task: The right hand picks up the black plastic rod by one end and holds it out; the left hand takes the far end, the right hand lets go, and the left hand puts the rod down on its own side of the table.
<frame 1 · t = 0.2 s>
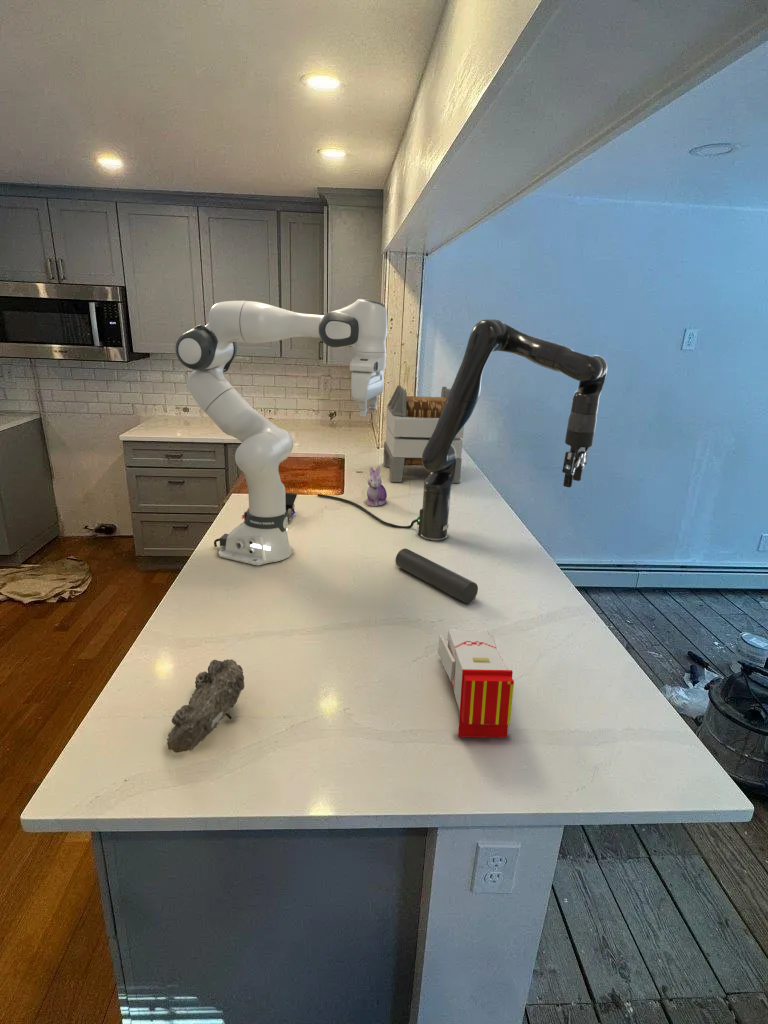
left hand: (367, 413, 158), 47 cm above the counter, tool pointing down, fingers open, 8 cm apart
right hand: (572, 483, 165), 29 cm above the counter, tool pointing down, fingers open, 8 cm apart
fossil: (212, 717, 108), on the counter
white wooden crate: (419, 473, 275), on the counter
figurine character: (286, 517, 210), on the counter
toy: (469, 691, 119), on the counter
figurine: (376, 503, 230), on the counter
rod: (433, 583, 165), on the counter
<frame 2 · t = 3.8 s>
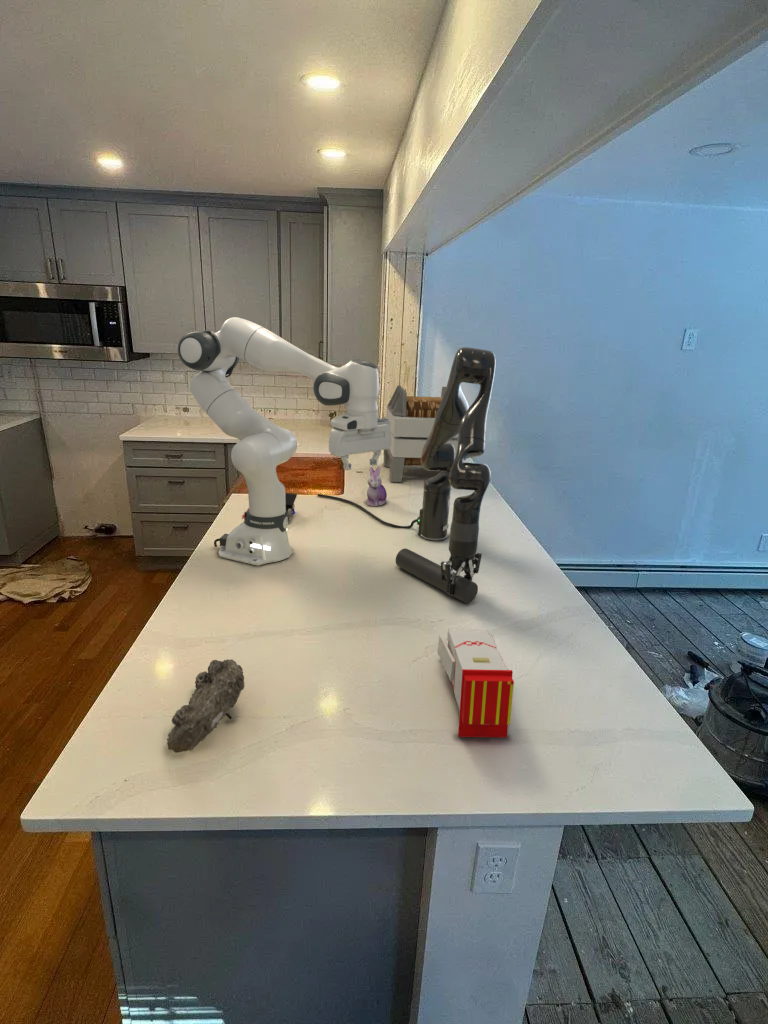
left hand: (360, 467, 164), 31 cm above the counter, tool pointing down, fingers open, 8 cm apart
right hand: (458, 591, 157), 2 cm above the counter, tool pointing down, fingers closed on rod, 6 cm apart
rod: (433, 583, 165), on the counter, touching right hand
everything else where it was.
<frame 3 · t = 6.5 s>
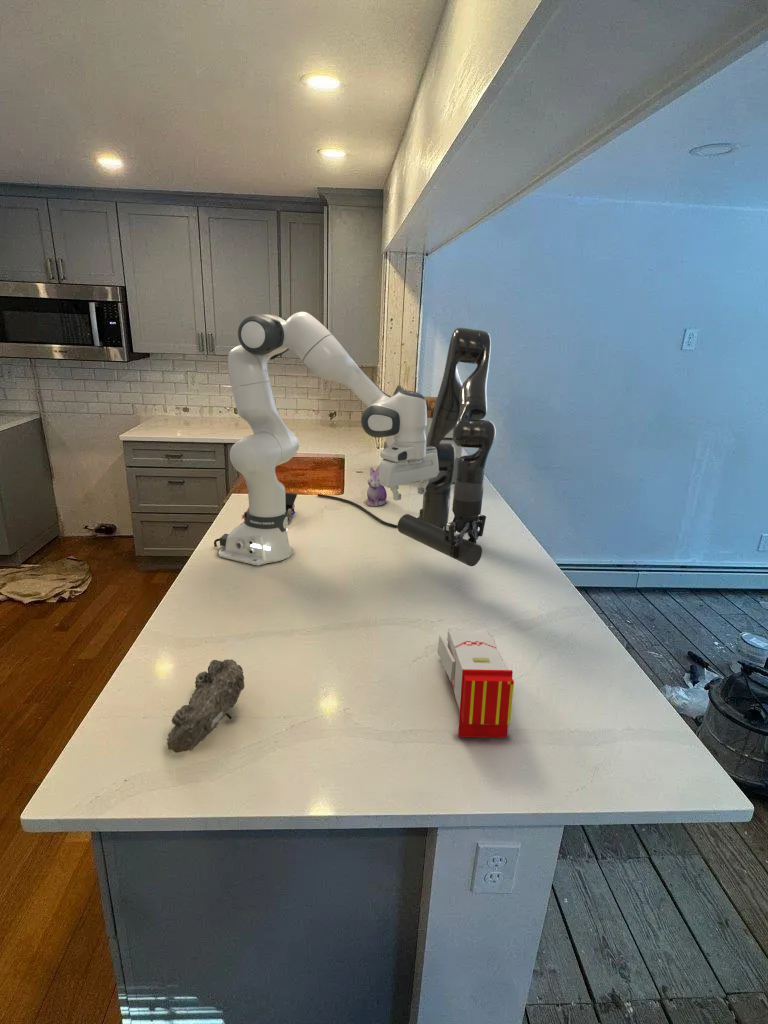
left hand: (409, 496, 164), 24 cm above the counter, tool pointing down, fingers open, 8 cm apart
right hand: (462, 554, 153), 13 cm above the counter, tool pointing down, fingers closed on rod, 6 cm apart
rod: (436, 548, 161), point 11 cm above the counter, touching right hand
everything else where it was.
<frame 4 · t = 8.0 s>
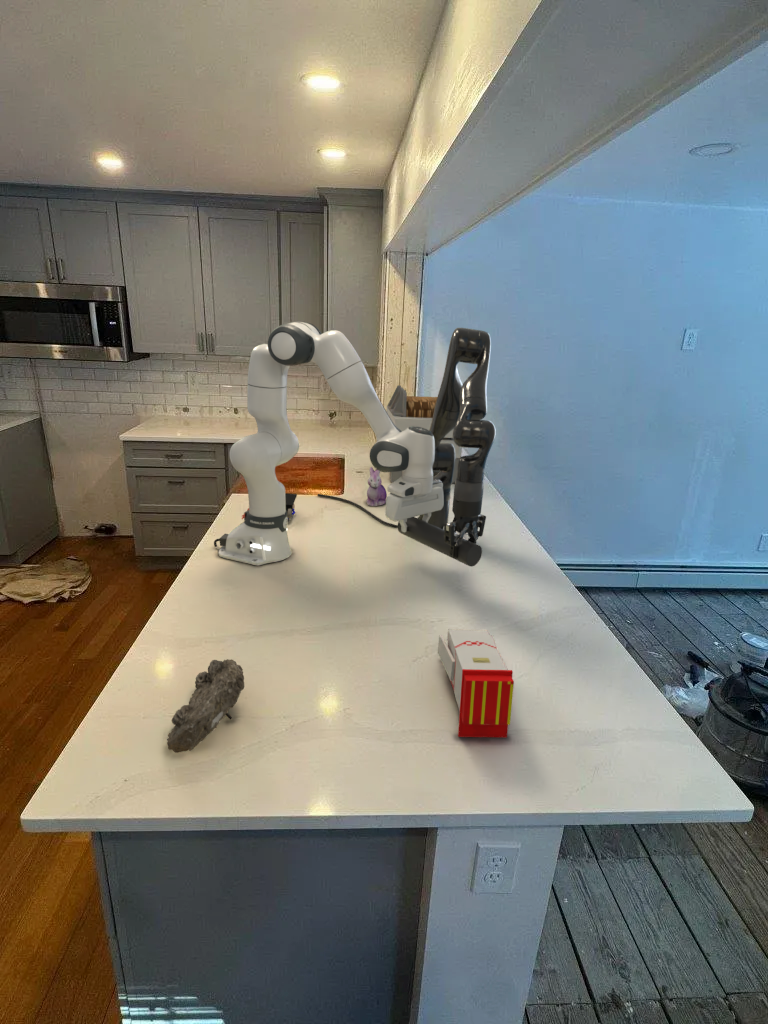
left hand: (414, 528, 167), 14 cm above the counter, tool pointing down, fingers closed on rod, 6 cm apart
right hand: (462, 554, 153), 13 cm above the counter, tool pointing down, fingers closed on rod, 6 cm apart
rod: (436, 548, 161), point 11 cm above the counter, touching right hand, left hand
everything else where it was.
when the right hand's fingers open (13 cm above the counter, at t = 9.2 s): rod stays where it is, held by the left hand.
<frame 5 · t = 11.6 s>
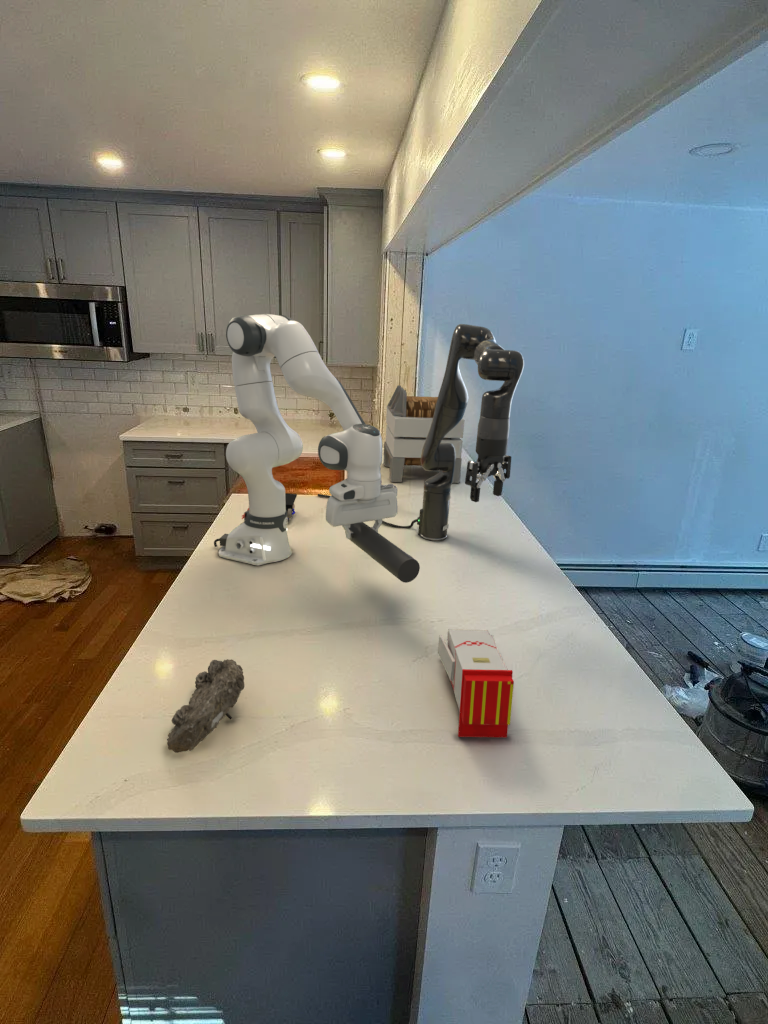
left hand: (361, 536, 153), 17 cm above the counter, tool pointing down, fingers closed on rod, 6 cm apart
right hand: (485, 498, 143), 31 cm above the counter, tool pointing down, fingers open, 8 cm apart
rod: (379, 559, 146), point 14 cm above the counter, touching left hand
everything else where it was.
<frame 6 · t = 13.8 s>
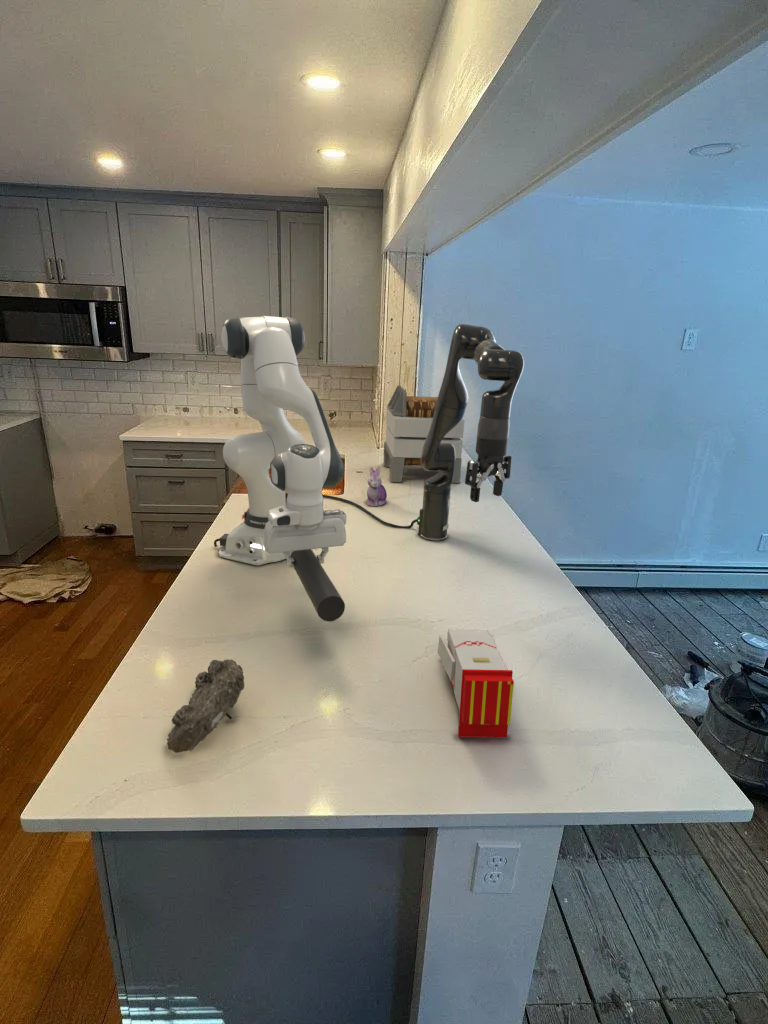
left hand: (305, 564, 142), 14 cm above the counter, tool pointing down, fingers closed on rod, 6 cm apart
right hand: (485, 498, 143), 31 cm above the counter, tool pointing down, fingers open, 8 cm apart
rod: (315, 592, 134), point 11 cm above the counter, touching left hand
everything else where it was.
when the left hand's fingers open (4 cm above the counter, at t = 15.4 s): rod stays where it is, on the counter.
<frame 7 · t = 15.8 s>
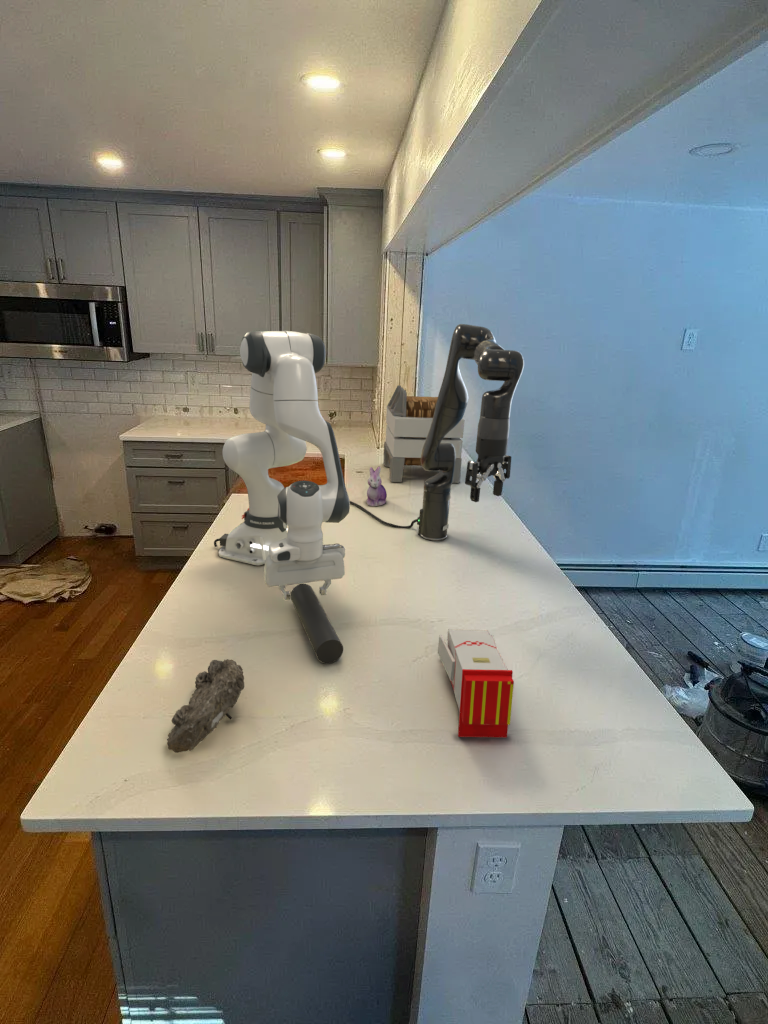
left hand: (305, 596, 145), 5 cm above the counter, tool pointing down, fingers open, 8 cm apart
right hand: (485, 498, 143), 31 cm above the counter, tool pointing down, fingers open, 8 cm apart
rod: (314, 631, 138), on the counter
everything else where it was.
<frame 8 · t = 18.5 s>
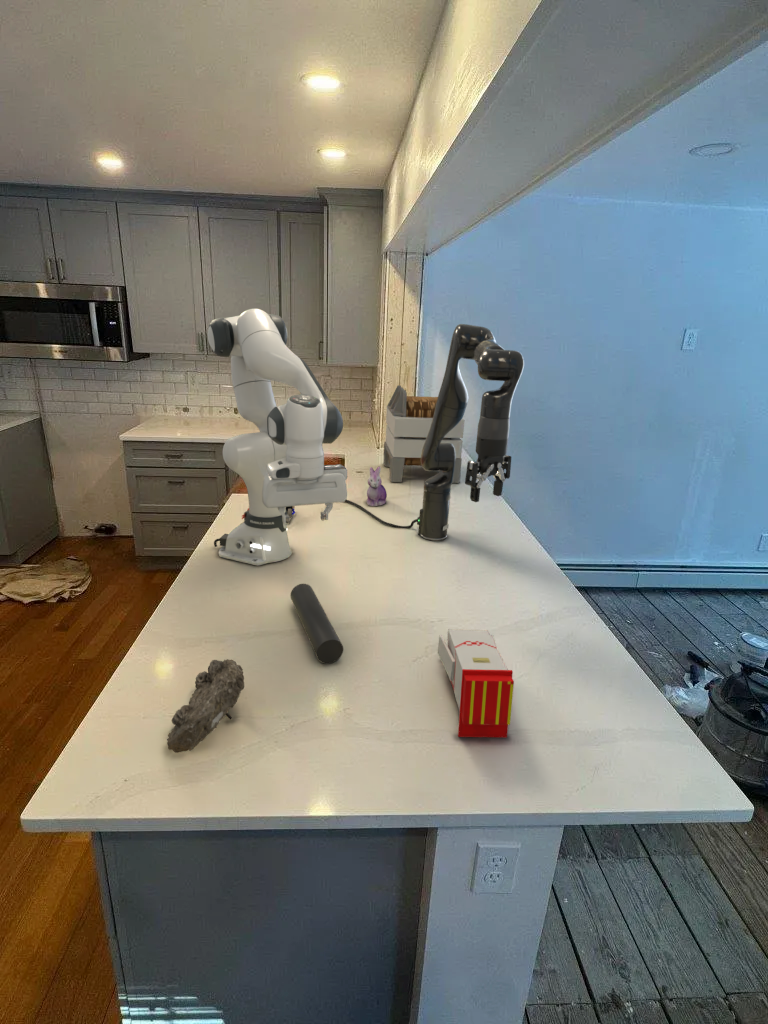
left hand: (305, 521, 138), 25 cm above the counter, tool pointing down, fingers open, 8 cm apart
right hand: (485, 498, 143), 31 cm above the counter, tool pointing down, fingers open, 8 cm apart
nothing on the counter moved.
at the end: rod inside the target area (9.5 cm from its centre), on the counter; the left hand is holding nothing; the right hand is holding nothing; rod at rest at the end (0.0 cm/s) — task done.
